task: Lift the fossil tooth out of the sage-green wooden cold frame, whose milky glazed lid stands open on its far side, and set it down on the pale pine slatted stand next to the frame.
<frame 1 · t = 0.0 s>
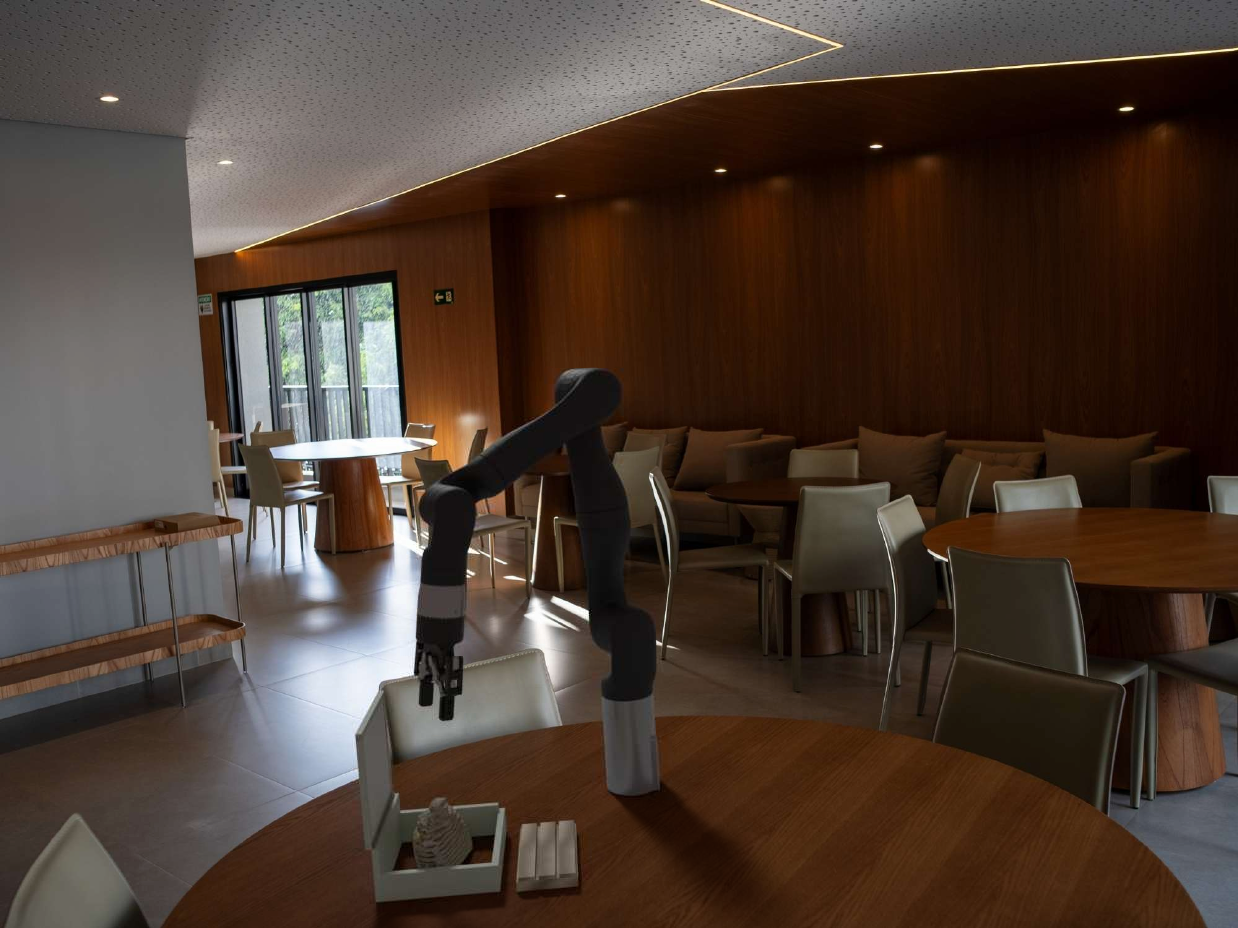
hand: (435, 712, 159), 22 cm above the table, tool pointing down, fingers open, 8 cm apart
fossil tooth: (445, 865, 156), on the table
cold frame: (445, 864, 156), on the table
slatted stand: (548, 859, 155), on the table
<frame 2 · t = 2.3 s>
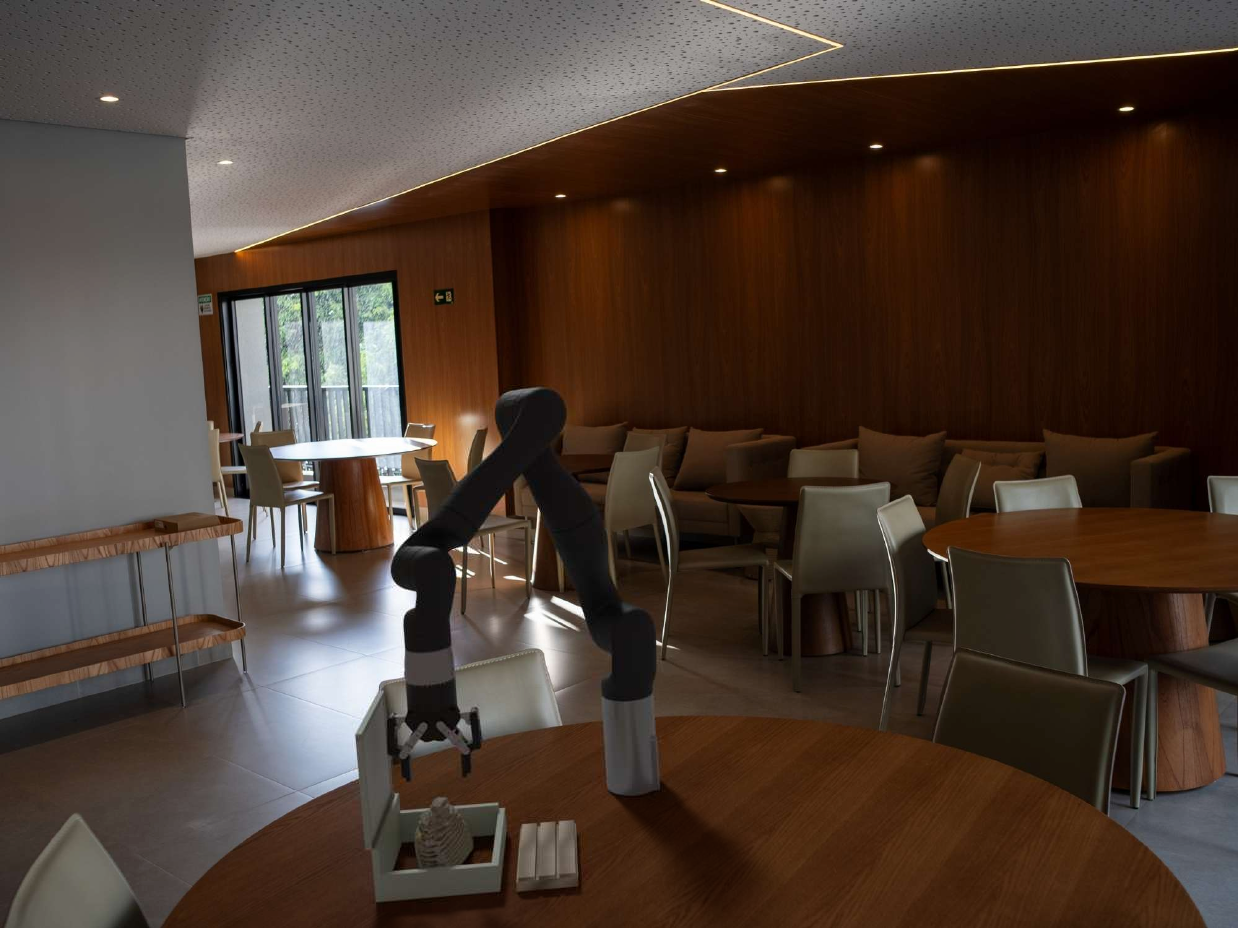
hand: (437, 777, 154), 14 cm above the table, tool pointing down, fingers open, 8 cm apart
nothing on the table moved.
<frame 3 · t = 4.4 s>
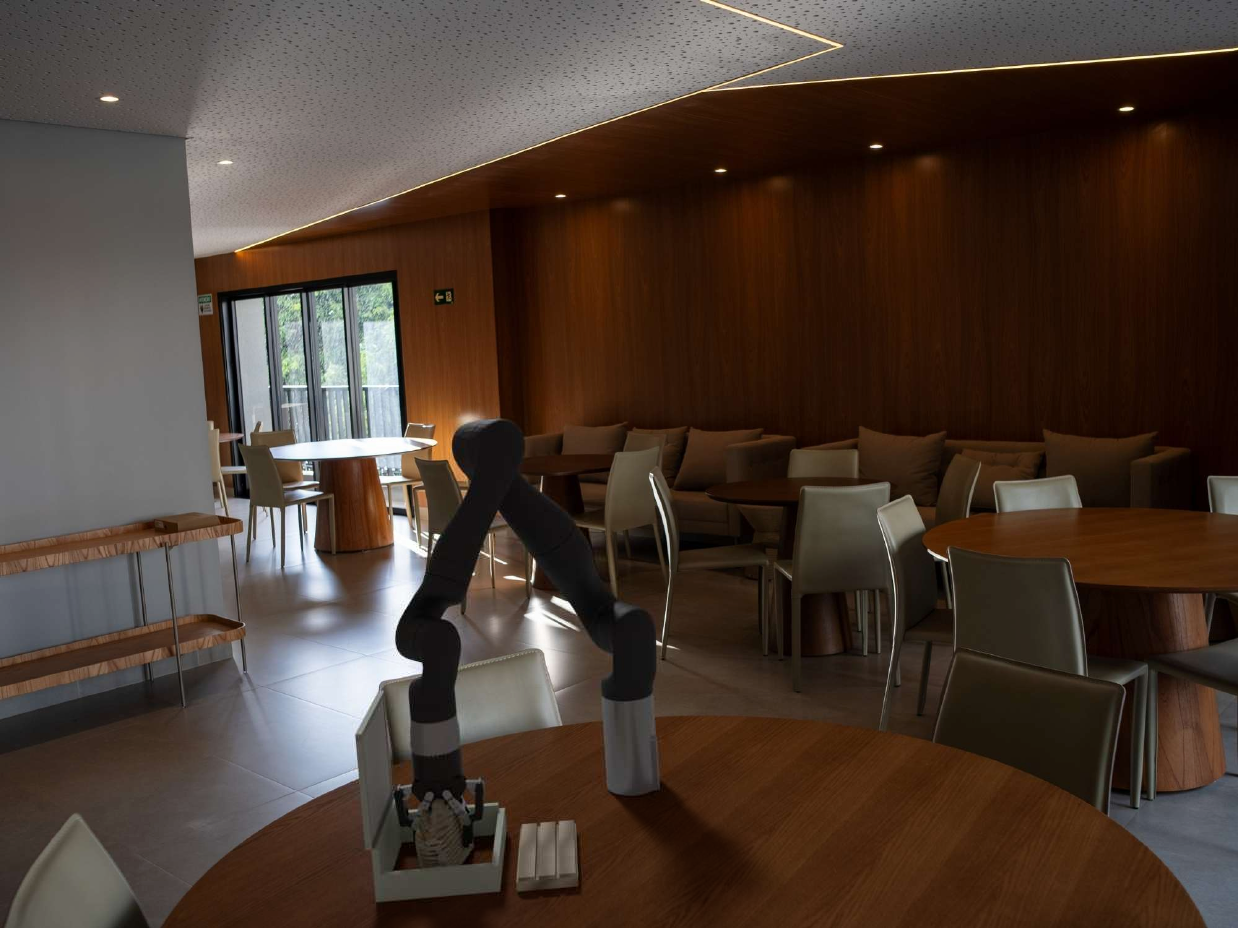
hand: (444, 847, 155), 3 cm above the table, tool pointing down, fingers closed on fossil tooth, 6 cm apart
fossil tooth: (447, 864, 156), on the table, touching gripper
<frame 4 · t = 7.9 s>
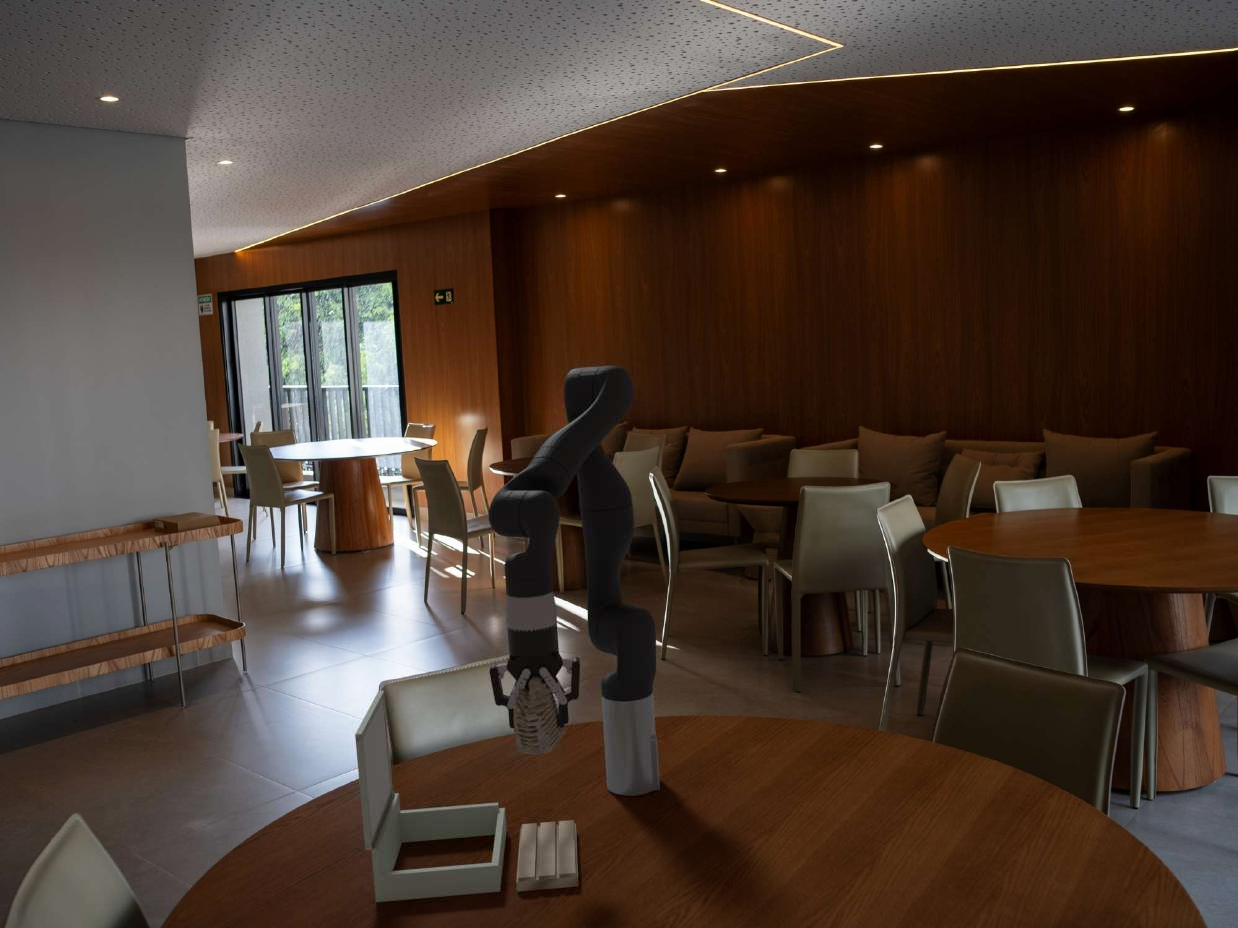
hand: (539, 727, 153), 21 cm above the table, tool pointing down, fingers closed on fossil tooth, 6 cm apart
fossil tooth: (541, 745, 154), point 18 cm above the table, touching gripper
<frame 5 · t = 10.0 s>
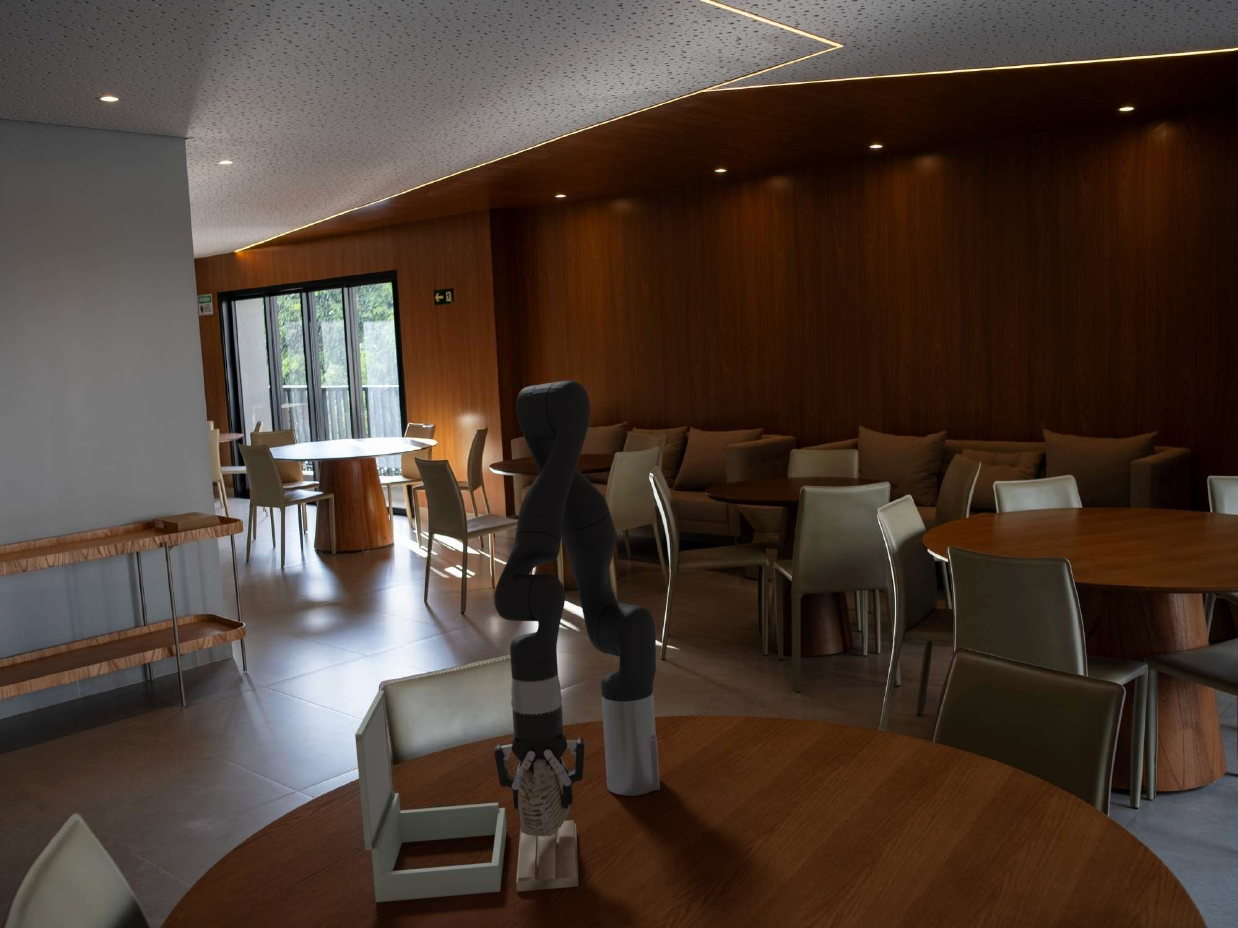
hand: (543, 807, 154), 8 cm above the table, tool pointing down, fingers closed on fossil tooth, 6 cm apart
fossil tooth: (545, 825, 155), point 5 cm above the table, touching gripper
when the fingers open (6 cm above the table, at t = 11.7 s): fossil tooth stays where it is, resting on slatted stand.
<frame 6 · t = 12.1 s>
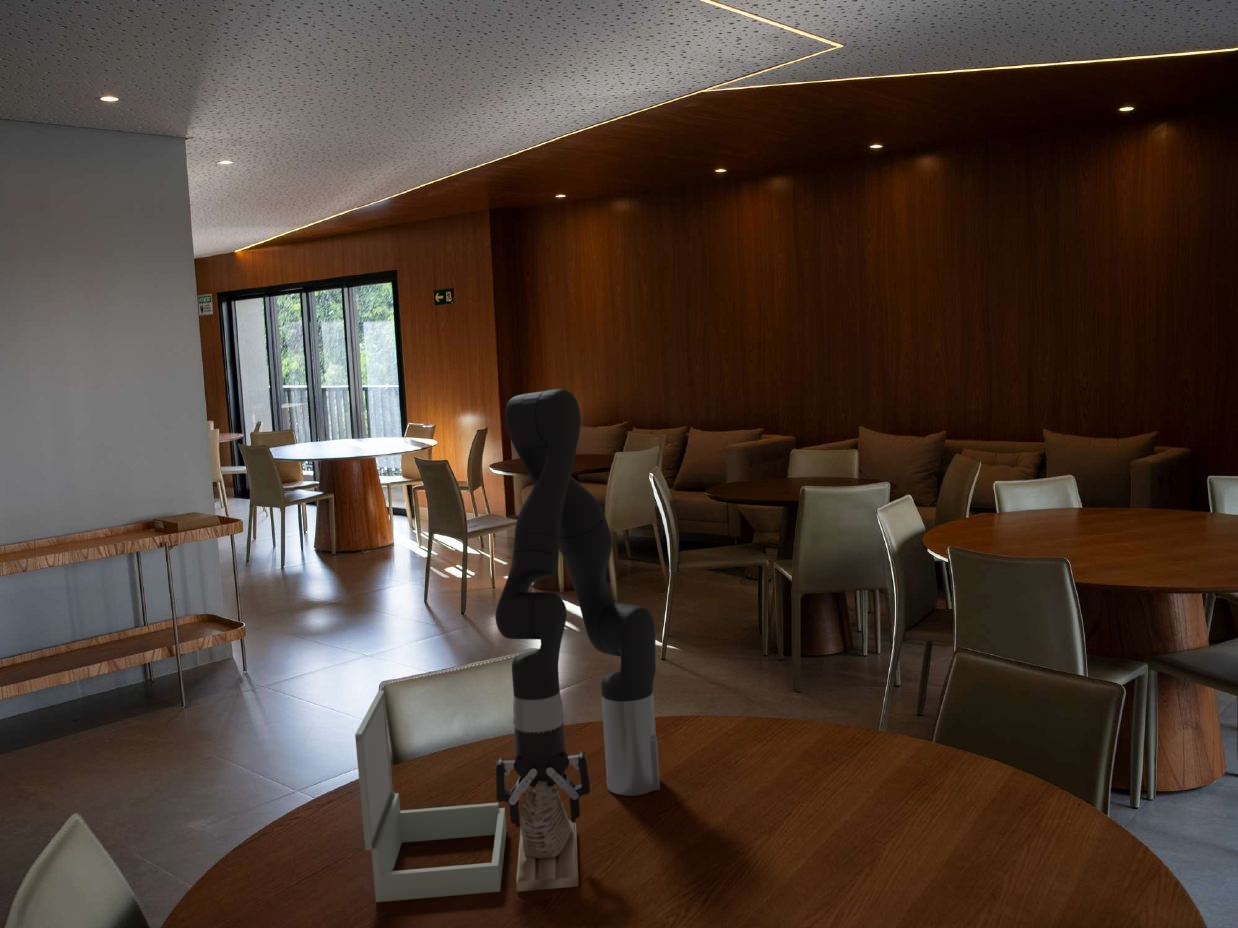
hand: (545, 822, 155), 6 cm above the table, tool pointing down, fingers open, 8 cm apart
fossil tooth: (548, 847, 155), point 2 cm above the table, touching slatted stand
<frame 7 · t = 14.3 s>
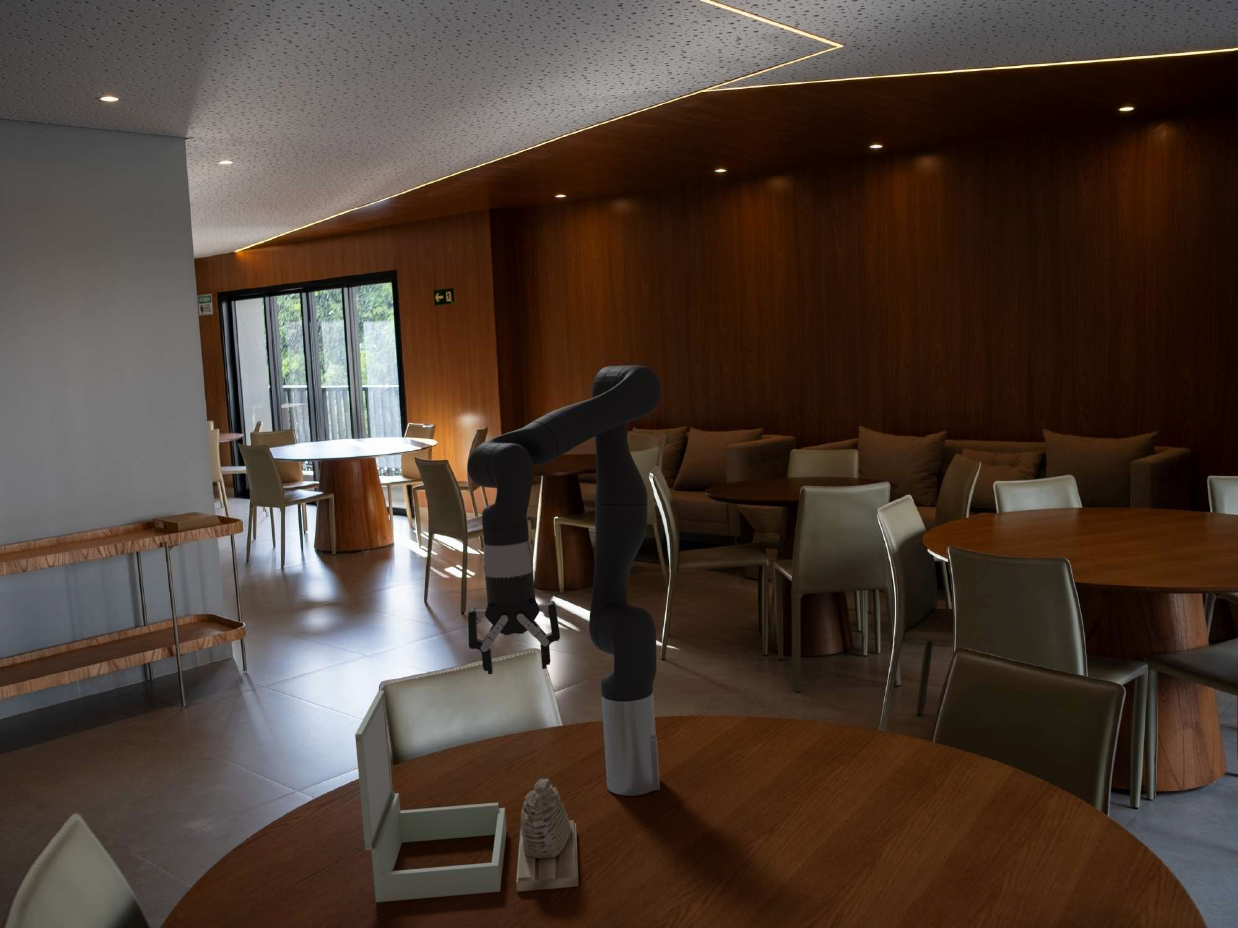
hand: (517, 670, 158), 28 cm above the table, tool pointing down, fingers open, 8 cm apart
nothing on the table moved.
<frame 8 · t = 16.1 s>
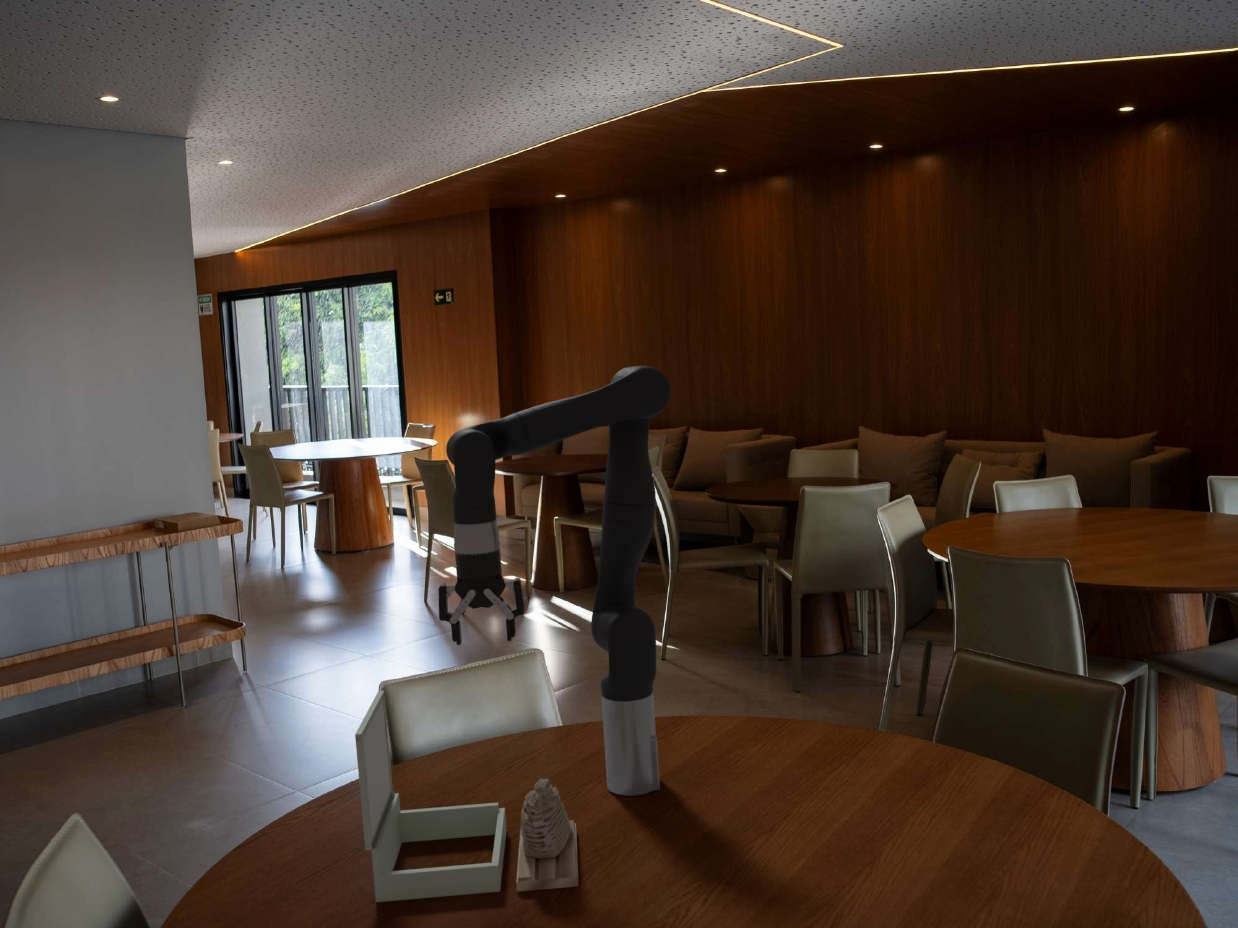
hand: (484, 641, 170), 30 cm above the table, tool pointing down, fingers open, 8 cm apart
nothing on the table moved.
at the end: fossil tooth 0.4 cm from the slatted stand (horizontally); fossil tooth point 1.9 cm above the table; the gripper is holding nothing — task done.
